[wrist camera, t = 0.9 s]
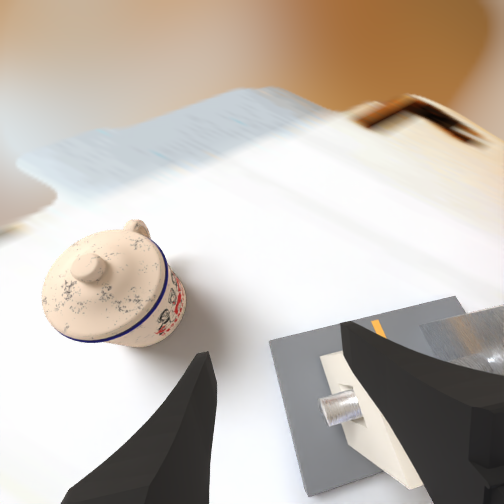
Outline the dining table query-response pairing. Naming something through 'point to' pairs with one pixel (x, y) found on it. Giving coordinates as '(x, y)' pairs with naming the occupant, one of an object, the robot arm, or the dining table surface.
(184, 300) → the teacup with lid
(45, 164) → the dining table surface
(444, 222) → the dining table surface
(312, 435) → the base plate
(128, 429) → the dining table surface
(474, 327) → the pipe stand
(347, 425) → the collar
